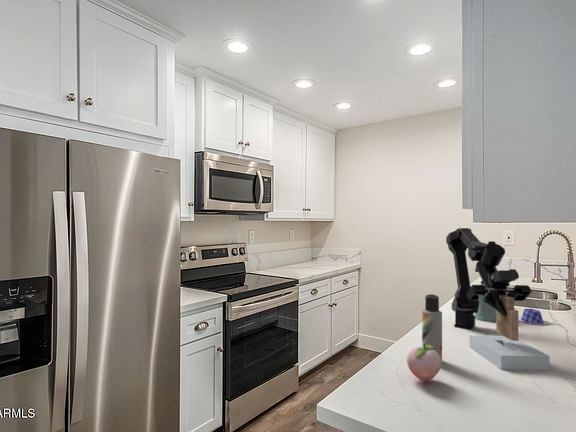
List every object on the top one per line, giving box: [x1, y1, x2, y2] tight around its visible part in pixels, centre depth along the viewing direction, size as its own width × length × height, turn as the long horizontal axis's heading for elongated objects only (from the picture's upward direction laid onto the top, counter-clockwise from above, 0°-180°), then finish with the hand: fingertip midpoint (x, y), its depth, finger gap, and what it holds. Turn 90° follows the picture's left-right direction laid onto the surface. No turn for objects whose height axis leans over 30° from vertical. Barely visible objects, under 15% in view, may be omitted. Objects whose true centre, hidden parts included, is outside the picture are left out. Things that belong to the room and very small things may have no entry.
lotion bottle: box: [421, 293, 443, 363], centre depth 109 cm, size 6×6×20 cm
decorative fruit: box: [406, 344, 442, 383], centre depth 95 cm, size 9×8×10 cm
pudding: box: [518, 308, 550, 326], centre depth 152 cm, size 12×12×5 cm
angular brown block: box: [495, 295, 519, 341], centre depth 112 cm, size 8×2×12 cm, turn 0°
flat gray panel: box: [469, 334, 551, 371], centre depth 111 cm, size 18×14×4 cm
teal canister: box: [474, 295, 496, 323], centre depth 155 cm, size 10×10×12 cm
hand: (509, 315), depth 110 cm, fingers closed on angular brown block, 2 cm apart
